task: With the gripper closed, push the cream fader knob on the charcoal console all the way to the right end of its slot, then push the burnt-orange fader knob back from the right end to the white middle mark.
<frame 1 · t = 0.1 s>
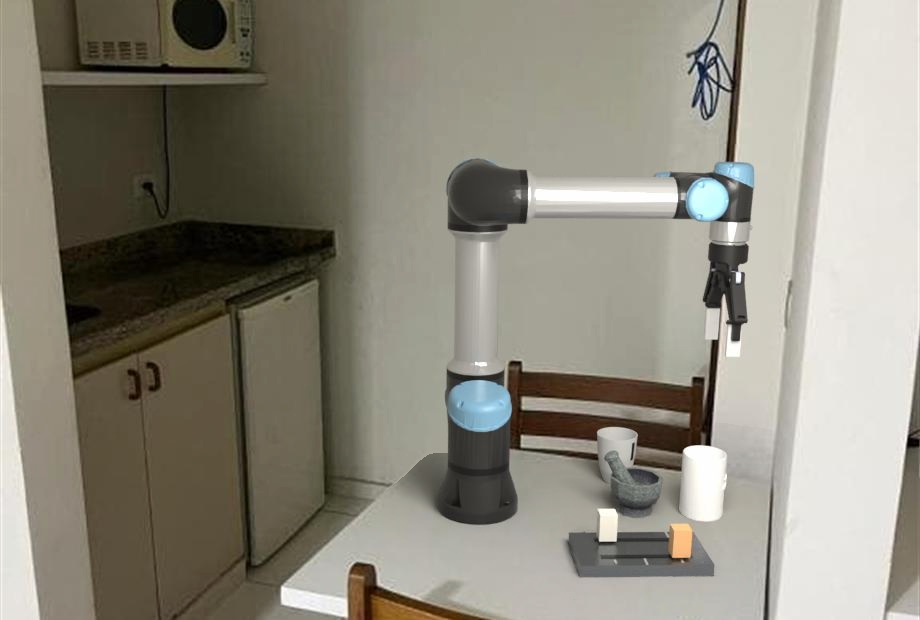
hand: (721, 347, 184), 28 cm above the table, fingers open, 13 cm apart
fader 2: (680, 540, 152), point 5 cm above the table, slide at 11.0 cm
console: (638, 558, 156), on the table
fader 1: (607, 525, 158), point 5 cm above the table, slide at 0.0 cm
mug: (697, 509, 176), on the table
mortar and pestle: (631, 511, 175), on the table
cup: (614, 480, 189), on the table
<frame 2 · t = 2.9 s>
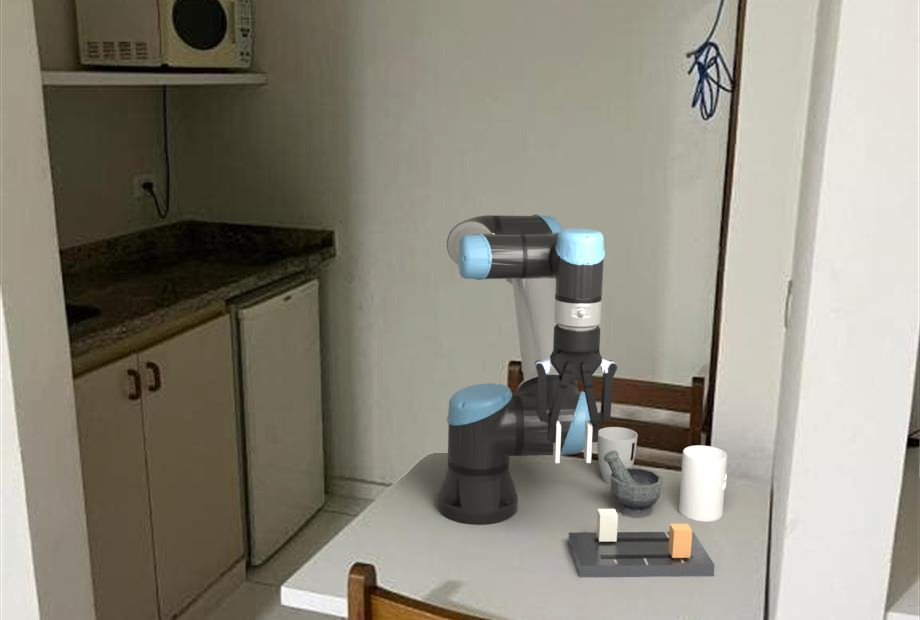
hand: (571, 459, 155), 17 cm above the table, fingers open, 4 cm apart
nothing on the table moved.
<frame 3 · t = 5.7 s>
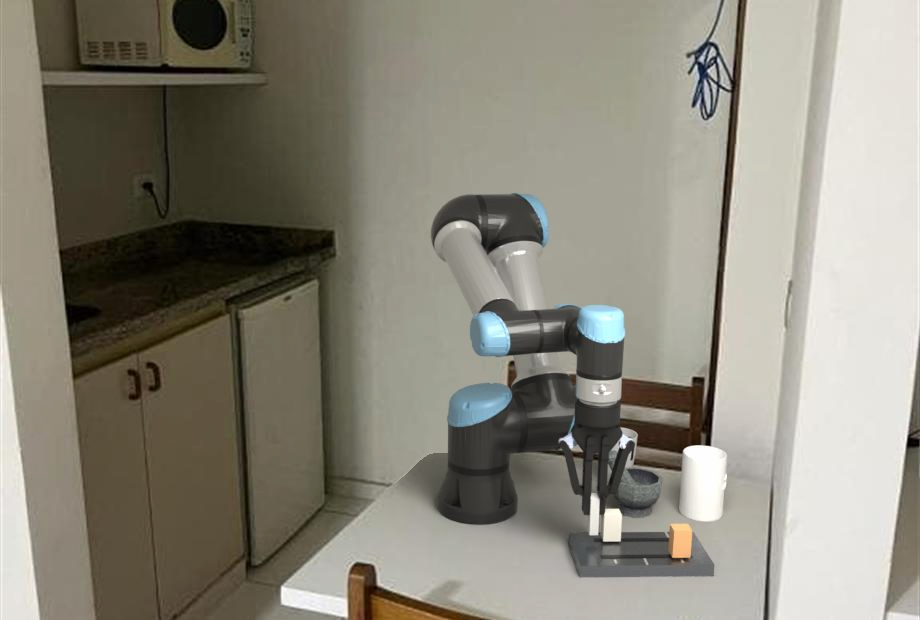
hand: (592, 531, 157), 4 cm above the table, fingers closed
fader 1: (611, 525, 158), point 5 cm above the table, slide at 0.7 cm, touching gripper
everything else where it was.
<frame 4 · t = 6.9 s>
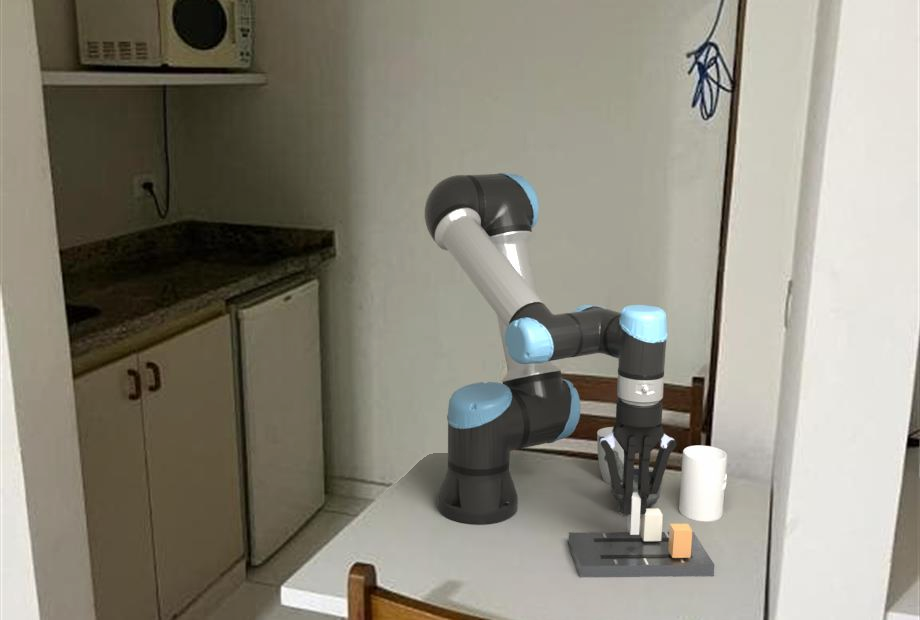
hand: (633, 531, 158), 4 cm above the table, fingers closed
fader 1: (651, 524, 158), point 5 cm above the table, slide at 7.7 cm, touching gripper
everything else where it was.
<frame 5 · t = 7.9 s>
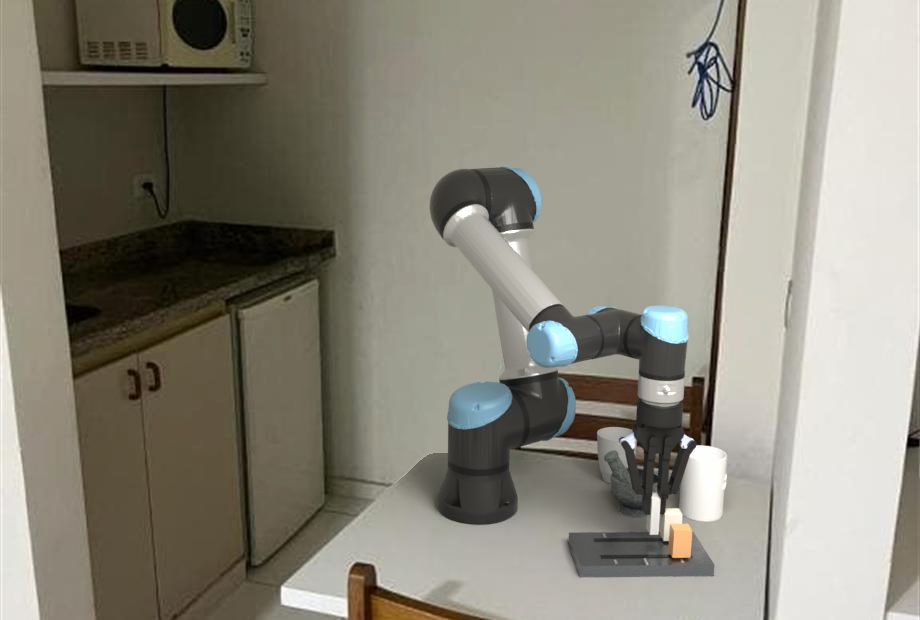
hand: (652, 531, 158), 4 cm above the table, fingers closed
fader 1: (671, 524, 158), point 5 cm above the table, slide at 11.1 cm, touching gripper
everything else where it was.
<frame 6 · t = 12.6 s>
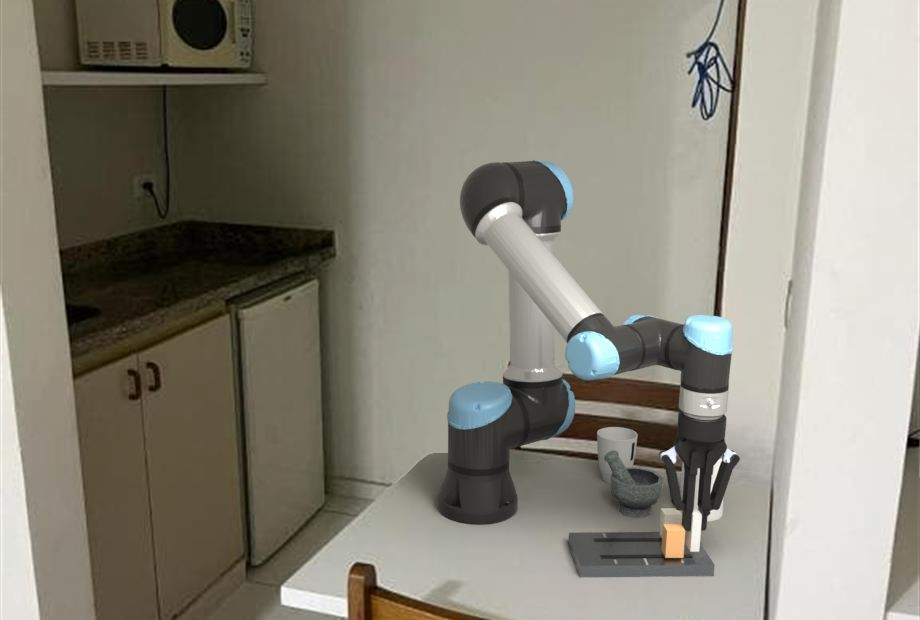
hand: (692, 547, 153), 3 cm above the table, fingers closed
fader 2: (673, 540, 152), point 5 cm above the table, slide at 9.8 cm, touching gripper
fader 1: (670, 524, 158), point 5 cm above the table, slide at 11.0 cm
everything else where it was.
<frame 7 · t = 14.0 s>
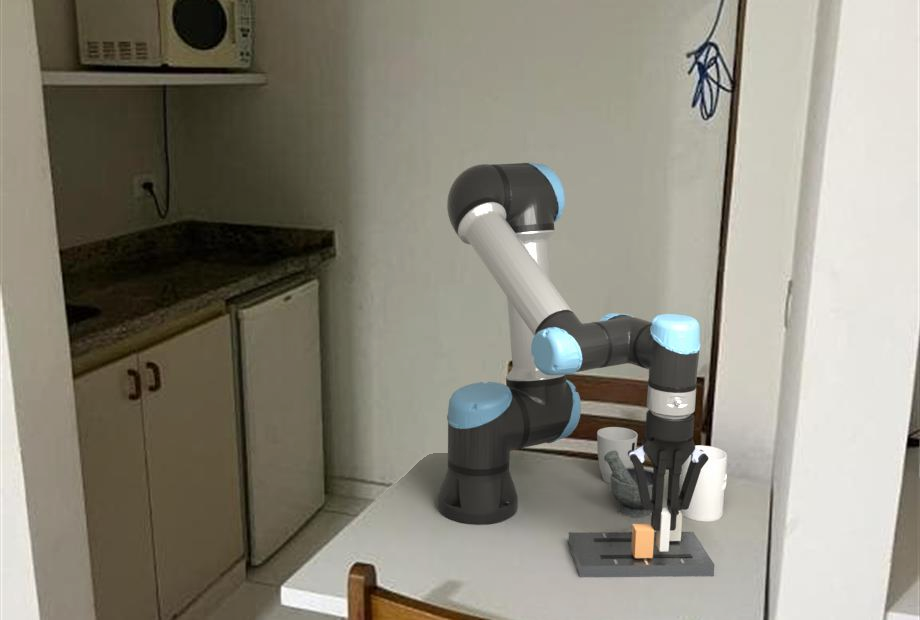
hand: (661, 547, 152), 4 cm above the table, fingers closed
fader 2: (642, 540, 152), point 5 cm above the table, slide at 4.7 cm, touching gripper
everything else where it was.
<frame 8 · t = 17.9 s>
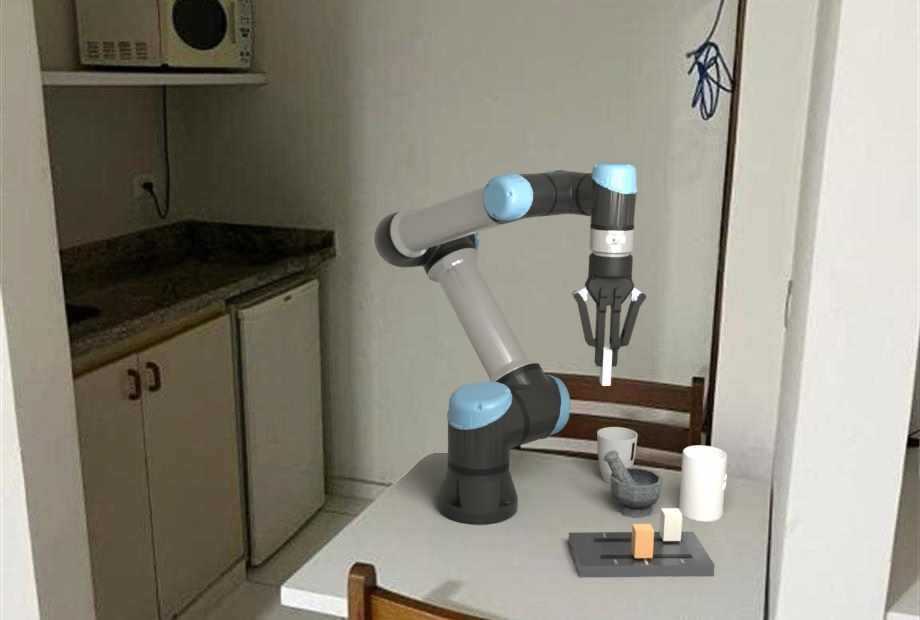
hand: (604, 383, 165), 26 cm above the table, fingers closed
fader 2: (642, 540, 152), point 5 cm above the table, slide at 4.7 cm
everything else where it was.
at the end: fader 1 slide at 11.0 cm; fader 2 slide at 4.7 cm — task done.
